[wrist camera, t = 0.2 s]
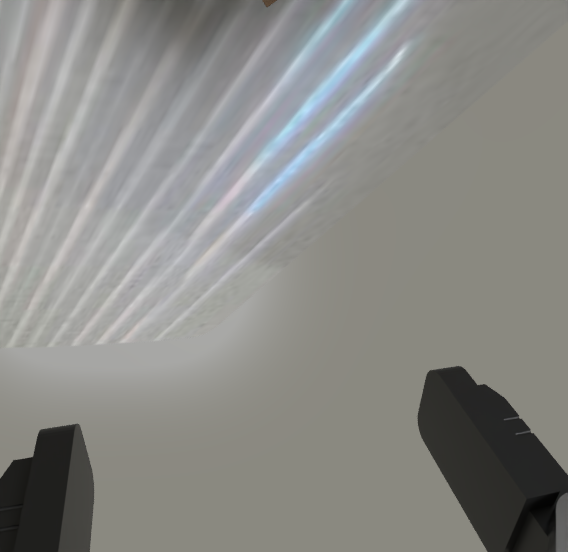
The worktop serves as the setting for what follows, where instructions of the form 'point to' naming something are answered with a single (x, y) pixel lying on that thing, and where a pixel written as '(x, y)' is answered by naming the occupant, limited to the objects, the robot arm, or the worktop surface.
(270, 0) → the walnut block
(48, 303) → the worktop surface
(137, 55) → the worktop surface
